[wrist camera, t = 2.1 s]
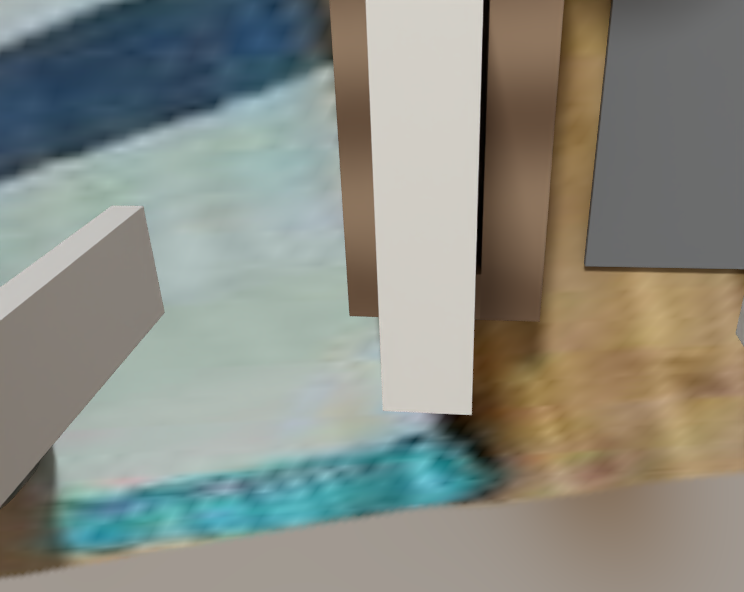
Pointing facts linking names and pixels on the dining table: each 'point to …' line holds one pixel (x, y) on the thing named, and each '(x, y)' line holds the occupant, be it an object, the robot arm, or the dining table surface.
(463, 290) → the rectangular insert block
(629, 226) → the rubber mat
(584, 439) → the dining table surface
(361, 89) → the slot box
